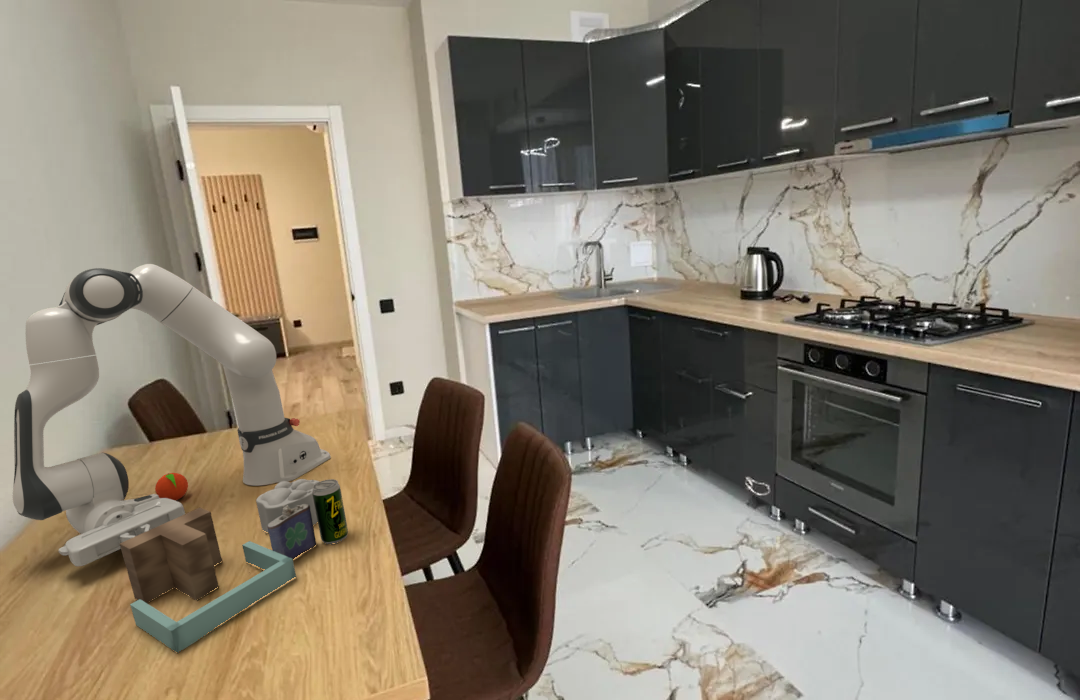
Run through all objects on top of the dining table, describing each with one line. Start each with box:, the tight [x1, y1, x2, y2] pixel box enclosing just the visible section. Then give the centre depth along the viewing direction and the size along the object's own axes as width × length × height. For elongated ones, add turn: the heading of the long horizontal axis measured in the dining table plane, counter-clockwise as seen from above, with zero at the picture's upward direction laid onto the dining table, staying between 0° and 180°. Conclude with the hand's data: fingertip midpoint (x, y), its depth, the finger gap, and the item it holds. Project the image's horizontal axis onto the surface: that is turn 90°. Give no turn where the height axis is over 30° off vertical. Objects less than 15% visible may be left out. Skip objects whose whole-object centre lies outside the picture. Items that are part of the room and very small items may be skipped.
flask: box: [267, 504, 317, 559], centre depth 113 cm, size 9×3×11 cm, turn 151°
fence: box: [129, 540, 297, 653], centre depth 102 cm, size 21×14×4 cm, turn 147°
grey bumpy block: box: [255, 478, 320, 534], centre depth 127 cm, size 10×13×9 cm
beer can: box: [312, 478, 349, 545], centre depth 118 cm, size 5×5×12 cm
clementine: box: [154, 472, 189, 501], centre depth 143 cm, size 8×7×7 cm
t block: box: [120, 507, 223, 604], centre depth 106 cm, size 14×12×11 cm
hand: (145, 539), depth 114 cm, fingers closed
